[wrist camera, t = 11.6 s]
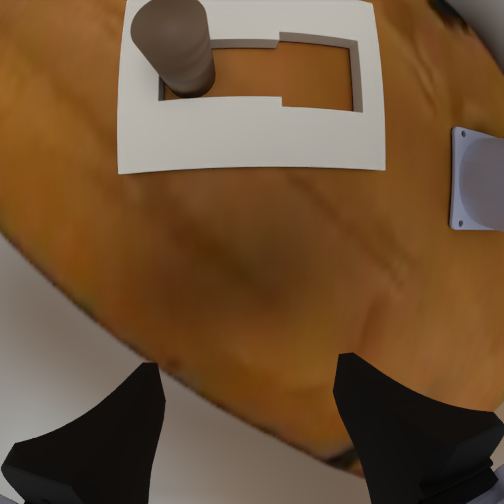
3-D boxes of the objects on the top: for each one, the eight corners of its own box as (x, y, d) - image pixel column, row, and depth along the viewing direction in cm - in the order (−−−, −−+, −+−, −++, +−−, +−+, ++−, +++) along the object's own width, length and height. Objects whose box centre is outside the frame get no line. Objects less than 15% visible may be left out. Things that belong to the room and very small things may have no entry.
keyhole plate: (364, 11, 16) (372, 3, 14) (374, 169, 19) (385, 170, 18) (133, 8, 15) (127, -1, 13) (126, 173, 18) (118, 174, 16)
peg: (215, 54, 16) (207, -10, 9) (215, 97, 17) (206, 51, 9) (167, 57, 16) (133, -1, 8) (166, 100, 17) (127, 60, 9)
